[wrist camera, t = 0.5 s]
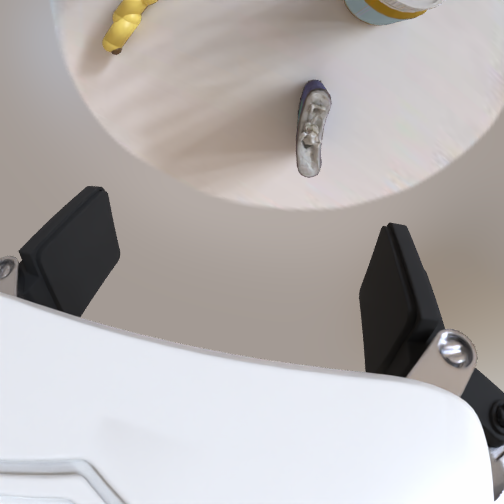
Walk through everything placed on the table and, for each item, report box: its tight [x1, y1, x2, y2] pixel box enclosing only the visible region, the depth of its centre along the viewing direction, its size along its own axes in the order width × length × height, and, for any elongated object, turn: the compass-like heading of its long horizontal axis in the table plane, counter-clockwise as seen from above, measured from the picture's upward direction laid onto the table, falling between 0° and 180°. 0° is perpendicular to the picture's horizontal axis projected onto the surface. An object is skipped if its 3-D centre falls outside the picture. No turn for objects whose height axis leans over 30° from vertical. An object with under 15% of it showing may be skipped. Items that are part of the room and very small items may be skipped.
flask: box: [296, 80, 332, 178], centre depth 31 cm, size 9×3×11 cm, turn 176°
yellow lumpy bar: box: [102, 0, 158, 55], centre depth 27 cm, size 14×4×3 cm, turn 137°
